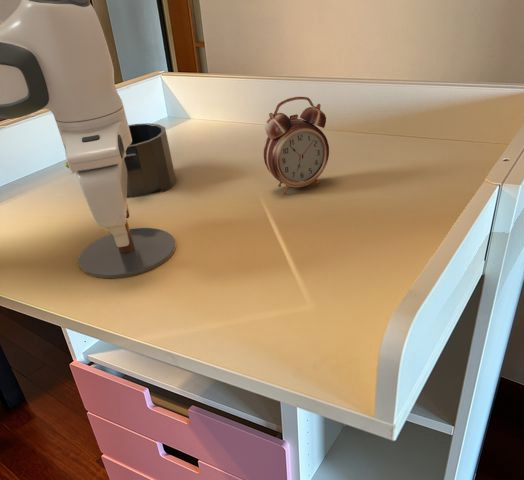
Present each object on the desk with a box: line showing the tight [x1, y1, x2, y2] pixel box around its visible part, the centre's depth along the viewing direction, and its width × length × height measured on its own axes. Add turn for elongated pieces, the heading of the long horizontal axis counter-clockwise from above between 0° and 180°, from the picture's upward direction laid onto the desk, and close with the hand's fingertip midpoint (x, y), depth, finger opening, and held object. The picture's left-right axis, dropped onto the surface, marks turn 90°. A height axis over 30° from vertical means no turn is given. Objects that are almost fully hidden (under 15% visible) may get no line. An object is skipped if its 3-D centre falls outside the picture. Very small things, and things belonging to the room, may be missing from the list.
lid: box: [77, 219, 177, 279], centre depth 83 cm, size 15×15×6 cm
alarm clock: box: [263, 96, 330, 195], centre depth 95 cm, size 11×5×15 cm, turn 112°
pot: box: [124, 122, 177, 199], centre depth 105 cm, size 14×19×10 cm
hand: (124, 230), depth 83 cm, fingers open, 8 cm apart
